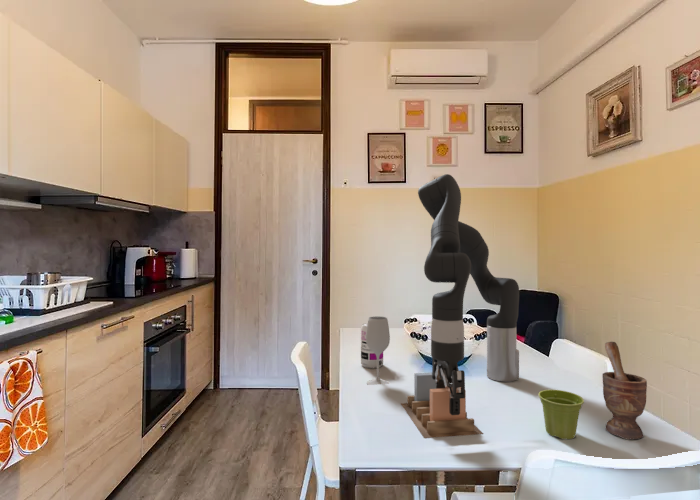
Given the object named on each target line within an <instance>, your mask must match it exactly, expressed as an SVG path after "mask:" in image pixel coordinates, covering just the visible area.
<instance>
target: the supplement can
mask: <svg viewBox="0 0 700 500" xmlns="http://www.w3.org/2000/svg"><path fill="white" fill-rule="evenodd" d="M367 324H368V322H366V323H363V324H362V326H361V327H360V364H361V365H362V367H363V368H366V369H377V357H376V354H375V353H374V352H372V351H371V350H370V348H369V347H368V346H367V343H366V331H367ZM383 365H384V352H382V353H381V354H380V356H379V368H381V367H383Z"/></svg>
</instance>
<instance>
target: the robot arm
mask: <svg viewBox="0 0 700 500" xmlns="http://www.w3.org/2000/svg"><path fill="white" fill-rule="evenodd" d="M417 194H418V195H417V196H418V198H419V201H420V203H421V204H422V206H423V207H424V209H425V211H426V212H427V213H428V215H430V217H431V218H432V219H433V223H432V225H431V229H430V248H429V251H428V253H427V256H426V258H425V261H424V266H423V271H424V275H425V277H426V278H427V279H428V281H429V282H431V283H437V284H438V283H443V284H444V283H445V284H447V283H448V284H449V283H452V284H453V283H454V285H453V287H452V288H451V289H450V290H448V291H442V292H437V293H435V294H433V295H432V300H431V318H432V319H431V327H430V356H431V358H432V365H431V367H432V371H431V372H432V378H433V380H434V379H435V384H437V385H436V389H441V388H446V389H448V392H449V397H450V398H449V412H450V414H451V415H459V414H460V398H465V390H466V380H465V379H466V377H465V376H466V375H465V370H462V369H459V367H458V363H459V362H461V361H463V359H464V358H465V326H464V297H465V291H466V289H467V288H466V287H467V284H468V280H469V278H470V276H471V278H472V279H473V281H474V284H475V285H476V288H477V290H478V291H479V295H481V297H482V299H483V300H484V301H485V302H486V303H487V304H490V305H492V306H493V305H495V306H499V312H497V313H496V314H491V315H489V316H488V317H487V319H486V377H487V378H488V379H491V380H494V381H497V382H505V383H506V382H514V381H517V380H520V351H519V349H518V348H517V322H518V318H519V310H520V309H519V305H520V287H519V284H518V282H517V280H516V279H514V278H508V277H496V276H494V275H493V274H492V273H491V271H490V269H489V268H488V262H489V261H488V260H489V256H490V254H489V253H490V251H489V246H488V244H487V243H486V241H485V239H484V238H483V236H482V234H481V233H480V231H478V229H476V228H475V227H473V226H471V225H469V224H467V223H464V222H462V221H459V219H460V212H461V206H462V205H461V204H462V192H461V189H460V186H459V185H458V181H456V179H455V178H454V177H453V176H452V175H451V174H442V175H440V176H438V177H437V178H435V179H432V180H430V181H429V182H426V183H425V184H423V185H421V186H420V187H419V188H418V190H417ZM444 384H445V385H444ZM460 387H461V390H460ZM456 391H457V393H456Z"/></svg>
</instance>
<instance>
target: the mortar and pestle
mask: <svg viewBox="0 0 700 500" xmlns="http://www.w3.org/2000/svg"><path fill="white" fill-rule="evenodd" d="M604 348H605V352H606V355H607V357H608V359H609V361H610V364H611V368H612V370H613V371H605V372H603V373H602V375H601V376H602V393H603V394H602V395H603V400H604V403H605V407H606V408H607V410H608V411H609V412H610V413H611V414H612V418H610V419H609V420H607V421H606V424H605V431H607V432H608V433H610V434H612V435H615V436H616V437H619V438H622V439H625V440H628V441H629V440H637V439H642V438H644V433H643V430H642V428H641V426H640V425H639V424H638V422H637V421H636V420H637V418H638V417H640V416H641V415H643V413H644V411H645V407H646V404H647V392H648V391H647V390H648V389H647V388H648V382H647V381H648V380H647V379H645V378H644V377H642V376H639V375H636V374H631V373H626V372H625V370H624V368H623V364H622V363H623V362H622V359H621V353H620V349H619V346H618V344H617V343H616V342H615V341H608V342H607V341H606V342H605V343H604Z"/></svg>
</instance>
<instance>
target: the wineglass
mask: <svg viewBox="0 0 700 500" xmlns="http://www.w3.org/2000/svg"><path fill="white" fill-rule="evenodd" d="M367 323H368V324H367V331H366V343H367V346H368V347H369V348H370V350H371V351H372V352H374V353H375V354H376V357H377V368H376V377H375V379H370V380H368V381H366V385H367V386H375V385H377V386H378V385H389V384H390V382H389V381H388V380H386V379H385V380H384V379H382V378H381V377H380V367H379V356H380V354H381V353H382V352H383V353H384V352H385V351H386V349H387V348H388V347H389V346H390V340H391V337H390V336H391V335H390V327H389V321H388V317H386V316H369V317H368V319H367Z"/></svg>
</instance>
